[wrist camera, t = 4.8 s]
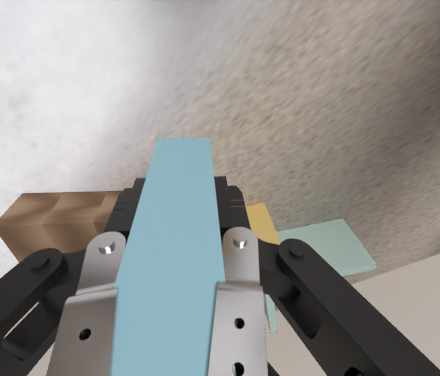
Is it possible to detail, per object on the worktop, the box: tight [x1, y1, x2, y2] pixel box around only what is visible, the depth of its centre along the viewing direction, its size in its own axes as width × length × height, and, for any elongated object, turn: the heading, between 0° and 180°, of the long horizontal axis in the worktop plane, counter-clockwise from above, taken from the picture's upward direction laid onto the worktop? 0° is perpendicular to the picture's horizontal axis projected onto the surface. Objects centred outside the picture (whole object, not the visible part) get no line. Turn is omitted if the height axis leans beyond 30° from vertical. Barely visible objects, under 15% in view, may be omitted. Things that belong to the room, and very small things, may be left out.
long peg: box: [112, 138, 236, 376], centre depth 10 cm, size 3×3×12 cm
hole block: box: [0, 191, 122, 263], centre depth 26 cm, size 12×12×4 cm
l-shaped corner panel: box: [263, 218, 376, 333], centre depth 32 cm, size 12×12×8 cm
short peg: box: [245, 202, 280, 245], centre depth 26 cm, size 3×3×6 cm
